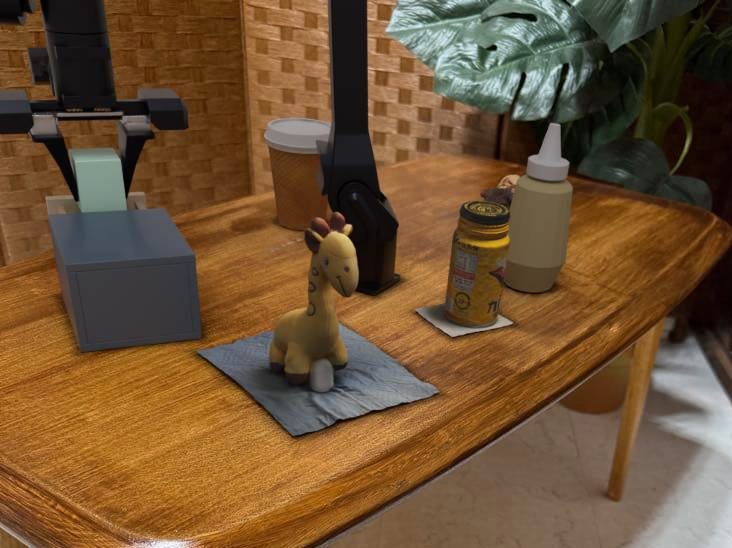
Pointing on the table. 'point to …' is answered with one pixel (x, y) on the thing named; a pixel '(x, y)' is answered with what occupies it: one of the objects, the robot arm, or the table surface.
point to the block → (98, 179)
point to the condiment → (474, 271)
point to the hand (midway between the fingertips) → (101, 199)
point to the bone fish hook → (502, 191)
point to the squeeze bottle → (540, 219)
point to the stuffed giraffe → (319, 350)
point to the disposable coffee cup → (297, 170)
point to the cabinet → (126, 278)
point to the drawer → (70, 206)
